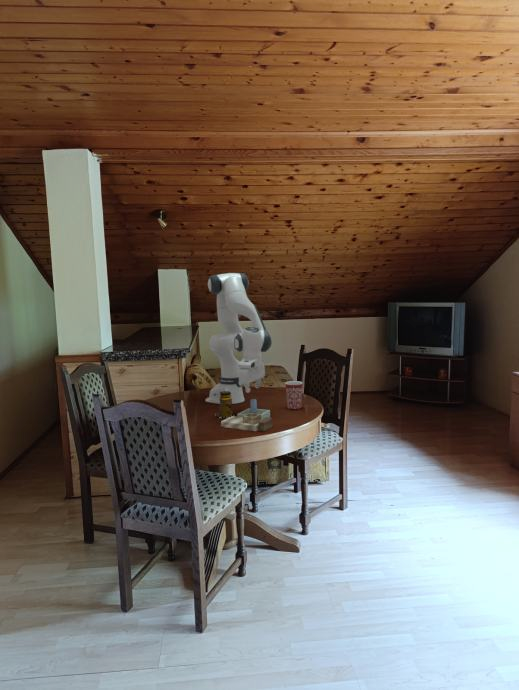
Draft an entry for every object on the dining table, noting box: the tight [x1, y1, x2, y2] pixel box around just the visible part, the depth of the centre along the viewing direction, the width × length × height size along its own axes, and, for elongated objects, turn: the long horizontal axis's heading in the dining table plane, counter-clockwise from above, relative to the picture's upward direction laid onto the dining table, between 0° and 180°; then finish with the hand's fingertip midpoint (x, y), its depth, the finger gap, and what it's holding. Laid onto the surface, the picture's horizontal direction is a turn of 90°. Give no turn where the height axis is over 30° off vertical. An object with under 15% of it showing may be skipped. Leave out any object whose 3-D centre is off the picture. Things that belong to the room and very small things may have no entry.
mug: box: [284, 380, 303, 410], centre depth 241 cm, size 13×9×14 cm
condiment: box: [214, 391, 233, 419], centre depth 228 cm, size 7×8×12 cm
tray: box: [236, 407, 271, 419], centre depth 220 cm, size 12×12×4 cm
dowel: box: [250, 398, 258, 414], centre depth 220 cm, size 3×3×9 cm
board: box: [220, 413, 263, 432], centre depth 210 cm, size 18×10×6 cm, turn 63°
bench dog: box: [257, 417, 273, 432], centre depth 205 cm, size 3×8×4 cm, turn 153°
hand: (252, 390), depth 219 cm, fingers open, 8 cm apart
